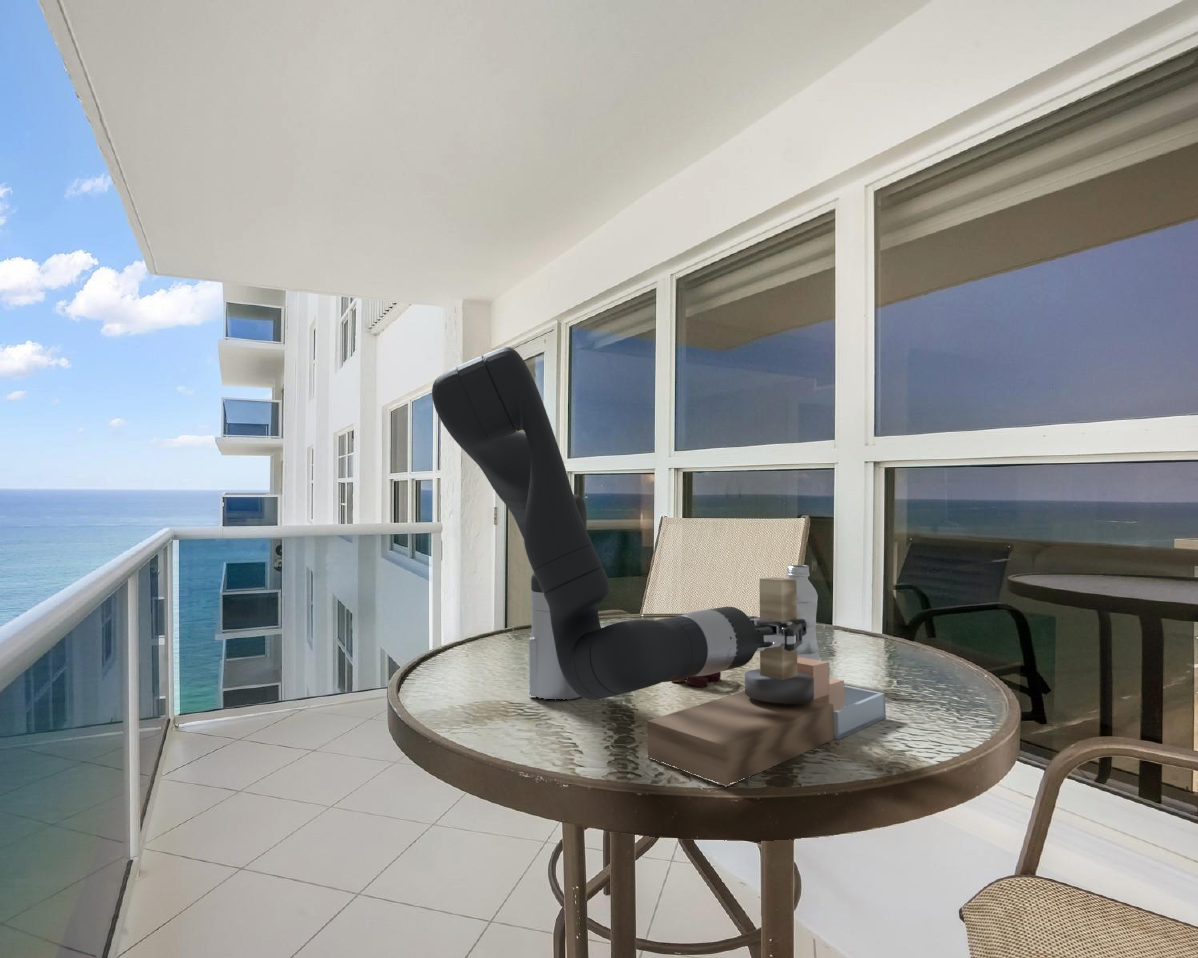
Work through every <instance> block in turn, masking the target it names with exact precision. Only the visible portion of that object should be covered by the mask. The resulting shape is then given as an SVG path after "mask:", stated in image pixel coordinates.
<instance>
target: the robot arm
mask: <svg viewBox="0 0 1198 958" xmlns="http://www.w3.org/2000/svg"><path fill="white" fill-rule="evenodd" d="M431 387H432V389H431V398H432V402H433V405H434V409H435V411H436V413H437V414H436V415H437V416H438V417H439V420H440V422H441V423H442V424H443V426H444V428H445V429H446V430H447V433H449V435H450V436H451V438H453V440H454V441H455V442H456V443H457V445H459V447H460V448H461V449H462V450H463V451H464V452H465V453H466V454H467V455H468V456H469V457H470V458H471V459H472V460H473V461H474V462H475V463H476V465H478V467H479V468H480V470H481V471H482V473H483V474H484V476H485V477H486V479H487V481H488V482H489V484H490V485H491V487H492V489H493V490H494V492H495V493H496V494H497V496H498V497H499V499H500V500H501V501H502V502H503V503H504V505H505V506H506V507H507V508H508V510H509V511H510V513H511V515H512V516H513V519H514V520H515V523H516V525H517V527H518V530H519V532H520V534H521V536H522V538H523V541H524V542H523V543H524V548H525V551H526V556H527V559H528V561H529V564H530V566H531V569H532V571H533V574H532V575H531V580H530V591H531V593H530V594H531V595H530V598H531V599H530V601H531V602H530V604H531V637H530V638H529V639H528V641H529V642H528V644H529V645H528V646H529V647H528V649H529V650H528V653H529V654H528V655H529V656H528V657H529V658H528V659H529V662H528V663H529V666H528V667H529V696H530V695H531V696H537V697H540V698H539V699H541V698H544V699H543V700H546V699H555V700H554V701H557V700H556V699H563V700H562V701H564V700H565V699H567V700H573V699H578V698H583V699H584V700H585V699H586V700H589V701H590V700H591V701H599V700H603V699H607V698H610V697H615V696H620V695H623V694H628V693H632V692H636V691H641V690H643V689H646V688H650V687H652V686H653V687H654V686H655V685H656V686H657V685H658V684H661V683H669V682H672V681H676V680H680V679H684V678H687V679H688V677H692V676H705V675H710V674H714V673H718V672H721V673H722V672H725V671H728V670H729V671H730V670H733V669H736V668H740V667H741V668H742V667H744V666H746V665H747V664H748V663H749V662H750V661H751V660H752V659H753V657H754V656H755V654H756V652H760V651H763V650H764V649H765V648H772V647H779V646H780V645H781V643H782V647H783V648H784V649H785V650H787V651H792V650H795V649H796V648H797V647H798V646H799V645H801V644H802V636H804V635H805V634H806V633H807V623H806V621H805V619H795V620H790V621H789V620H786V621H780V620H776V619H764V620H761V619H760V616H758V615H755V616H753V615H747V614H746V613H745V612H744V611H743V610H741V609H740V608H737V607H735V606H734V607H733V606H721V607H716V608H715V607H714V608H709V609H704V610H703V609H701V610H697V611H696V610H695V611H690V612H686V613H683V614H681V615H678V616H672V617H665V618H660V619H654V620H653V619H631V620H623V621H620V622H615V623H612V624H609V625H608V624H607V625H606V626H604V627H602V626H601V622H600V616H599V610H598V608H599V607H598V606H599V604H600V603H602V602H603V601H604V600H605V599H606V598H607V597H608V595H609V594H610V591H611V585H610V581H609V579H608V576H607V573H606V571H605V569H604V567H603V564H602V562H601V560H600V558H599V555H598V553H597V551H596V547H595V546H594V544H593V542H592V539H591V537H590V535H589V533H588V530H587V525H588V524H587V523H588V522H587V517H588V513H587V508H586V507H587V506H586V502H585V501H584V499H583V497H582V496H581V495H579V494H574V493H573V490H572V486H571V483H570V480H569V476H568V474H567V469H566V467H565V463H564V460H563V456H562V453H561V451H560V448H559V444H558V441H557V440H556V436H555V433H554V431H553V427H552V425H551V422H550V419H549V416H548V413H547V411H546V408H545V404H544V402H543V399H542V397H541V396H542V395H541V393H540V391H539V388H538V387H537V384H536V382H535V380H534V377H533V375H532V373H531V371H530V369H529V367H528V365H527V363H526V362H525V361H524V359H523V358H522V356H521V354H520V353H519V352H518V351H517V350H516V349H514V348H512V347H510V346H504V347H501V348H497V349H495V350H494V349H493V350H492V351H489V352H487V353H485V354H483V355H480V356H478V357H475V358H473V359H471V360H468V361H466V362H464V363H462V364H459V365H456V366H455V367H452V368H450V369H448V370H447V371H445V372H443V373H442V374H441V375H439V376H437V378H435V380H434V382H433V384H432V386H431ZM521 431H523V432H524V433H523V432H521ZM769 625H770V626H769ZM781 627H783V628H782V633H781ZM565 701H566V700H565Z"/></svg>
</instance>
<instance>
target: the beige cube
mask: <svg viewBox="0 0 1198 958" xmlns="http://www.w3.org/2000/svg"><path fill="white" fill-rule="evenodd" d="M844 685H845V680H844V679H840V678H832V677H829V695H826V696H823V697H819V698H816V699H813V700H817V701H821V702H826V703H830V704H833V712H834V711H836V710H839V709H841V708H844Z"/></svg>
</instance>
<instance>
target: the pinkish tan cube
mask: <svg viewBox="0 0 1198 958" xmlns="http://www.w3.org/2000/svg"><path fill="white" fill-rule="evenodd" d="M797 671H798V672H802V673H806V674H809V675H811V676H812V677H813V678H814V699H816V698H819V697H823V696H826V695H829V678H830V661H825V660H821V659H820V660H815V659H809V658H803V657H799V658H797Z"/></svg>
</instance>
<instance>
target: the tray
mask: <svg viewBox="0 0 1198 958" xmlns="http://www.w3.org/2000/svg"><path fill="white" fill-rule="evenodd" d="M886 709H887V708H886V693H884V692H879V691H874V690H870V689H864V688H860V687H855V686H850V685H849V686H848V685H845V684H844V708H841V709H839V710H836V711H834V740H842V739H843V738H846V737H848V736H850V735H852V734H854V733H857V732H860V730H863V729H866V728H868V727H870V726H873V725H874V724H877V723H878V722H881V721H883V720H885V719H886V718H887V715H886V711H887V710H886Z"/></svg>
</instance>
